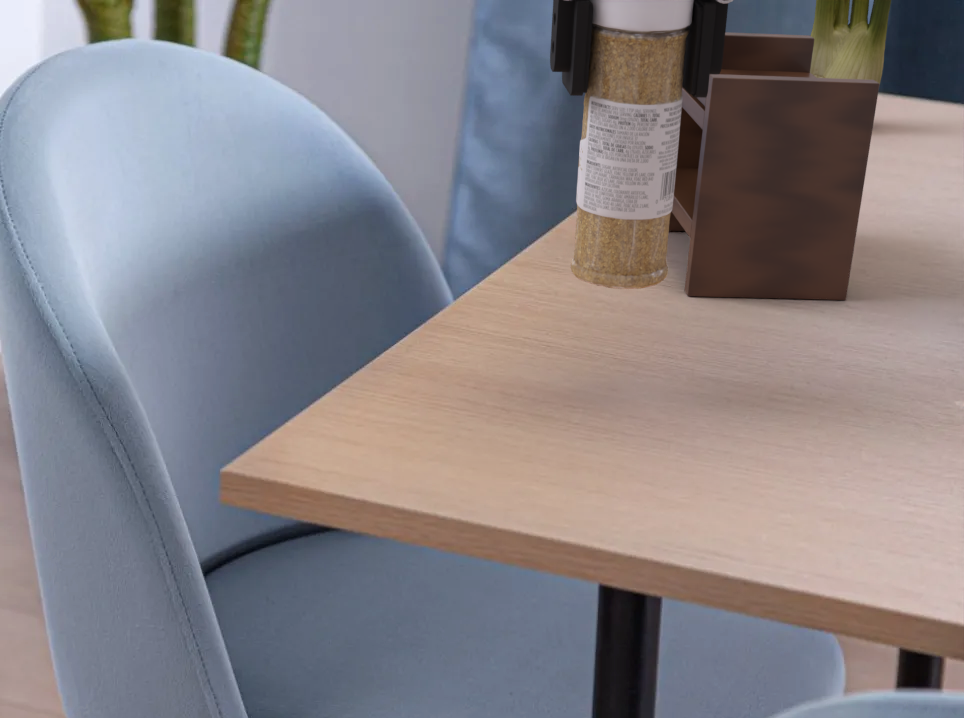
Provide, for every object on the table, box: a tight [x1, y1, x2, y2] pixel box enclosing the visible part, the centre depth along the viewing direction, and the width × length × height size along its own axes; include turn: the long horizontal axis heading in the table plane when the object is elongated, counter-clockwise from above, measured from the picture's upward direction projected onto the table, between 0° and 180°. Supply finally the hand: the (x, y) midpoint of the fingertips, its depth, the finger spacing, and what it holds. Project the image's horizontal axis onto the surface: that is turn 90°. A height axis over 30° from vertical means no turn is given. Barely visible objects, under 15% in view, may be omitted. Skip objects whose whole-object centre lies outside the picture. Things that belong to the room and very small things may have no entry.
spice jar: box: [570, 0, 694, 290], centre depth 79 cm, size 5×5×14 cm
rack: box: [669, 31, 880, 301], centre depth 102 cm, size 9×14×12 cm, turn 4°
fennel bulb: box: [810, 0, 892, 86], centre depth 136 cm, size 6×5×12 cm
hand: (633, 85), depth 78 cm, fingers closed on spice jar, 4 cm apart
